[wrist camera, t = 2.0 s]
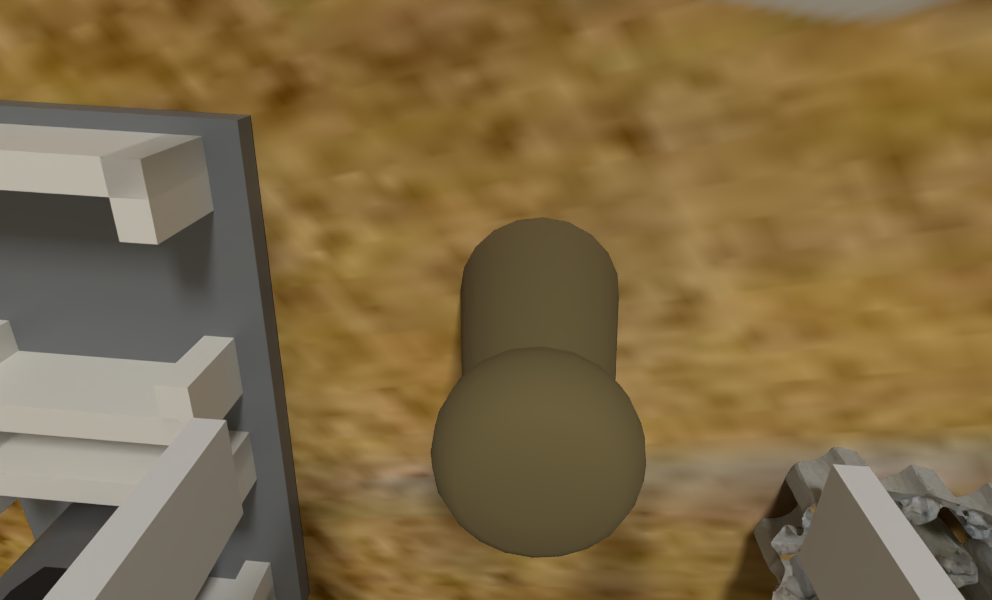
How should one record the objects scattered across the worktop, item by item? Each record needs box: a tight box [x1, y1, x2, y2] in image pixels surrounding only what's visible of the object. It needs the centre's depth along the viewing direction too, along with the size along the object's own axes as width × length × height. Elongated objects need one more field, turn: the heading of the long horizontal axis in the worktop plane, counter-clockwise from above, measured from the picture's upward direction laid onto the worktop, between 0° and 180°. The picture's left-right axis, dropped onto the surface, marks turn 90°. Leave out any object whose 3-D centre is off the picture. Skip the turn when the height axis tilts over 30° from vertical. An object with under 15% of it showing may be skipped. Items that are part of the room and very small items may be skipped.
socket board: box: [0, 100, 309, 600], centre depth 23 cm, size 13×24×8 cm, turn 177°
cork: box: [431, 218, 646, 557], centre depth 18 cm, size 6×6×11 cm
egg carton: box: [753, 447, 992, 600], centre depth 25 cm, size 11×8×4 cm
